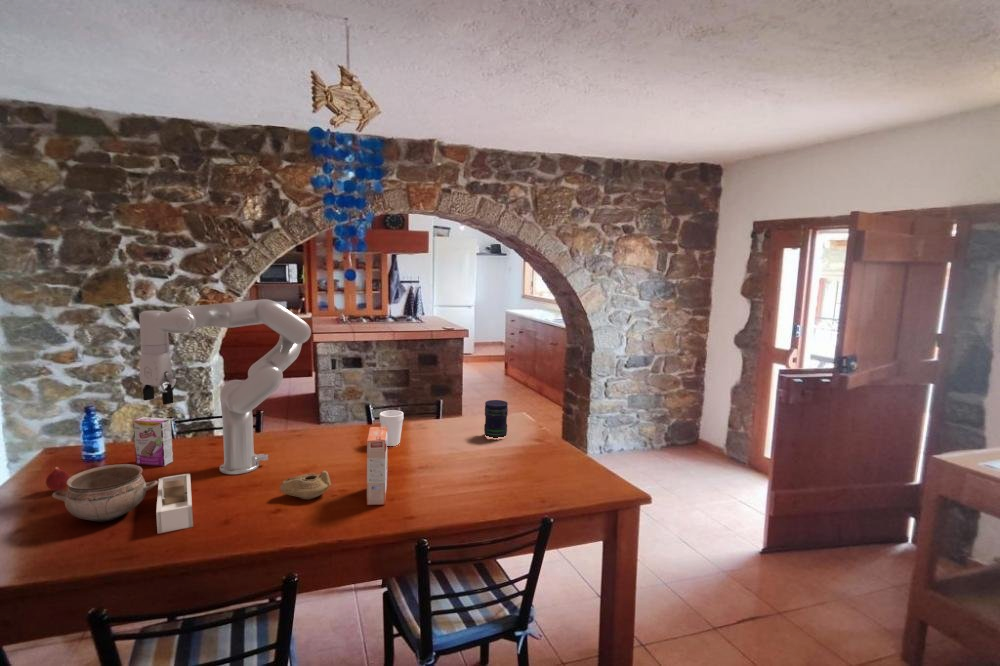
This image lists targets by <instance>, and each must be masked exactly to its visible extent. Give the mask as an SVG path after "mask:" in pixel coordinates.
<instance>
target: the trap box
mask: <svg viewBox="0 0 1000 666" xmlns="http://www.w3.org/2000/svg"><path fill="white" fill-rule="evenodd" d="M181 479H184V490H185V501H184V502H179V503H173V504H167V505H165V496H164V482H168V481H175V480H181ZM157 486H158V487H157V498H156V500H157V501H156V509H155V510H156V511H155V512H156V513H155V515H156V516H155V517H156V527H157V528H156V529H157V534H163V533H168V532H173V531H177V530H183V529H184V530H185V529H189V528H193V527H194V519H193V518H194V517H193V516H194V515H193V500H192V483H191V473H183V474H176V475H169V476H164V477H163V476H162V477H159V478H158V484H157Z"/></svg>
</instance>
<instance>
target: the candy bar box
mask: <svg viewBox="0 0 1000 666" xmlns="http://www.w3.org/2000/svg"><path fill="white" fill-rule="evenodd" d="M132 425H133V438H134V439H133V440H134V450H135V451H134V454H135V465H144V466H157V467H167V466H168V465H170V464H171V463H174V453H173V449H174V448H173V435H172V434H173V432H172V419H171V418H166V417H165V418H164V417H163V418H162V417H151V416H141V417H138V418H135V419H134V420H132Z"/></svg>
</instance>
